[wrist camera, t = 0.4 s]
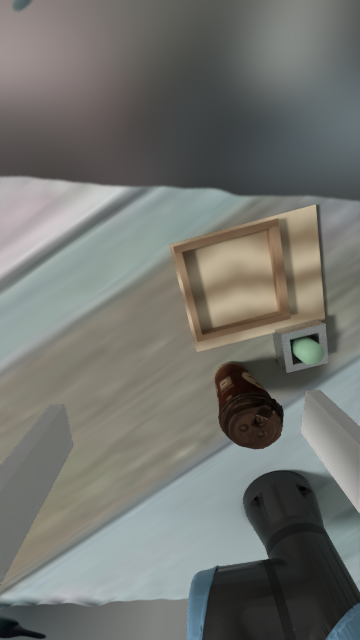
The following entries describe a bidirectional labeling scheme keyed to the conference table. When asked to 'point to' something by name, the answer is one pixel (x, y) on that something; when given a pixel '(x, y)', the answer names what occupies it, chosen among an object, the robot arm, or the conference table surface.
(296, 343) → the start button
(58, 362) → the conference table surface
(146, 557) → the conference table surface
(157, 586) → the conference table surface
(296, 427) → the conference table surface
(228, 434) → the coffee cup
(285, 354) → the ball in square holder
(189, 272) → the tray
